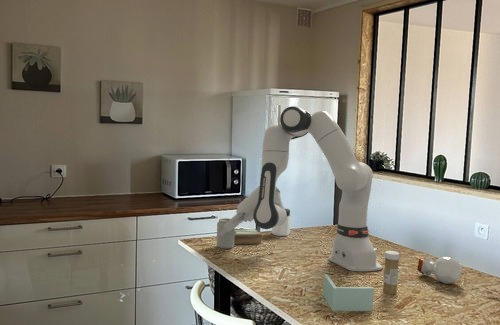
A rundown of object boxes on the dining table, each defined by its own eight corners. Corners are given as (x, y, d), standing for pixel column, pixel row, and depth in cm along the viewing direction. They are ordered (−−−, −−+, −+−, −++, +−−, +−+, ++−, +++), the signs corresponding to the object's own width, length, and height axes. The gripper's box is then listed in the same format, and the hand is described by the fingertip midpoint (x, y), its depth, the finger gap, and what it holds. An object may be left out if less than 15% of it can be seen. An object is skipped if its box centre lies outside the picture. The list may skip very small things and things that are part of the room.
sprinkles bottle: (380, 289, 155) (382, 250, 154) (393, 289, 155) (396, 250, 154) (385, 295, 150) (388, 254, 149) (399, 294, 151) (402, 254, 150)
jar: (287, 231, 232) (288, 208, 231) (291, 235, 224) (292, 211, 223) (270, 232, 231) (270, 208, 230) (273, 236, 223) (274, 211, 222)
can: (237, 246, 202) (238, 219, 201) (227, 250, 196) (228, 222, 195) (223, 243, 206) (224, 216, 205) (213, 247, 200) (213, 219, 199)
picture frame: (261, 243, 209) (261, 233, 208) (234, 244, 206) (235, 234, 206) (255, 237, 219) (256, 228, 218) (230, 238, 216) (230, 229, 215)
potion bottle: (458, 292, 159) (421, 284, 172) (471, 272, 163) (434, 265, 176) (447, 272, 156) (410, 265, 169) (461, 252, 160) (424, 247, 173)
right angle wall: (372, 313, 137) (374, 288, 137) (332, 313, 136) (333, 288, 136) (359, 297, 149) (361, 274, 149) (322, 297, 148) (323, 274, 148)
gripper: (245, 221, 187) (221, 243, 190) (257, 212, 207) (235, 232, 210) (235, 209, 188) (211, 231, 191) (247, 201, 208) (226, 221, 211)
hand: (224, 231), depth 201 cm, fingers closed on can, 7 cm apart
